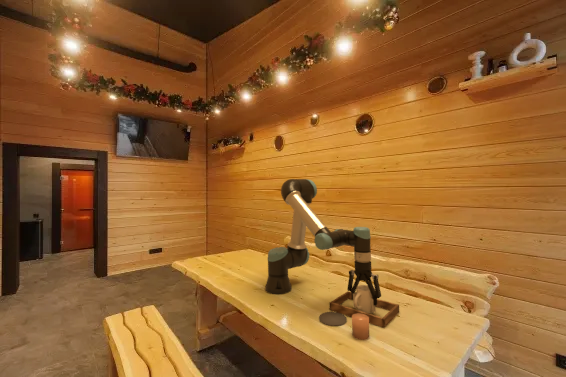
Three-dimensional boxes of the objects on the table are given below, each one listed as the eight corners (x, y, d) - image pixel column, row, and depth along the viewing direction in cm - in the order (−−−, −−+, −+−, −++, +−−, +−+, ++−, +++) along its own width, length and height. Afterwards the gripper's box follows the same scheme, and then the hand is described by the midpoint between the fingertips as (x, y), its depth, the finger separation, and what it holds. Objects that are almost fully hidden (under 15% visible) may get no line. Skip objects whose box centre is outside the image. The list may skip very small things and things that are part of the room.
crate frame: (329, 309, 124) (329, 302, 124) (347, 297, 138) (347, 291, 138) (384, 328, 107) (384, 319, 107) (399, 312, 120) (399, 304, 120)
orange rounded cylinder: (349, 335, 102) (348, 317, 102) (356, 329, 106) (356, 311, 107) (365, 341, 97) (364, 322, 98) (372, 334, 102) (371, 316, 102)
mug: (362, 318, 115) (361, 294, 116) (347, 311, 122) (347, 289, 122) (379, 310, 122) (378, 288, 122) (364, 304, 129) (363, 283, 129)
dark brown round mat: (313, 320, 114) (313, 318, 115) (328, 310, 123) (328, 309, 123) (337, 329, 106) (337, 327, 106) (351, 318, 115) (351, 317, 115)
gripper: (338, 258, 127) (340, 305, 126) (381, 266, 113) (383, 319, 112) (346, 255, 132) (347, 300, 132) (388, 262, 118) (390, 312, 118)
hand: (364, 309), depth 122 cm, fingers closed on mug, 8 cm apart
